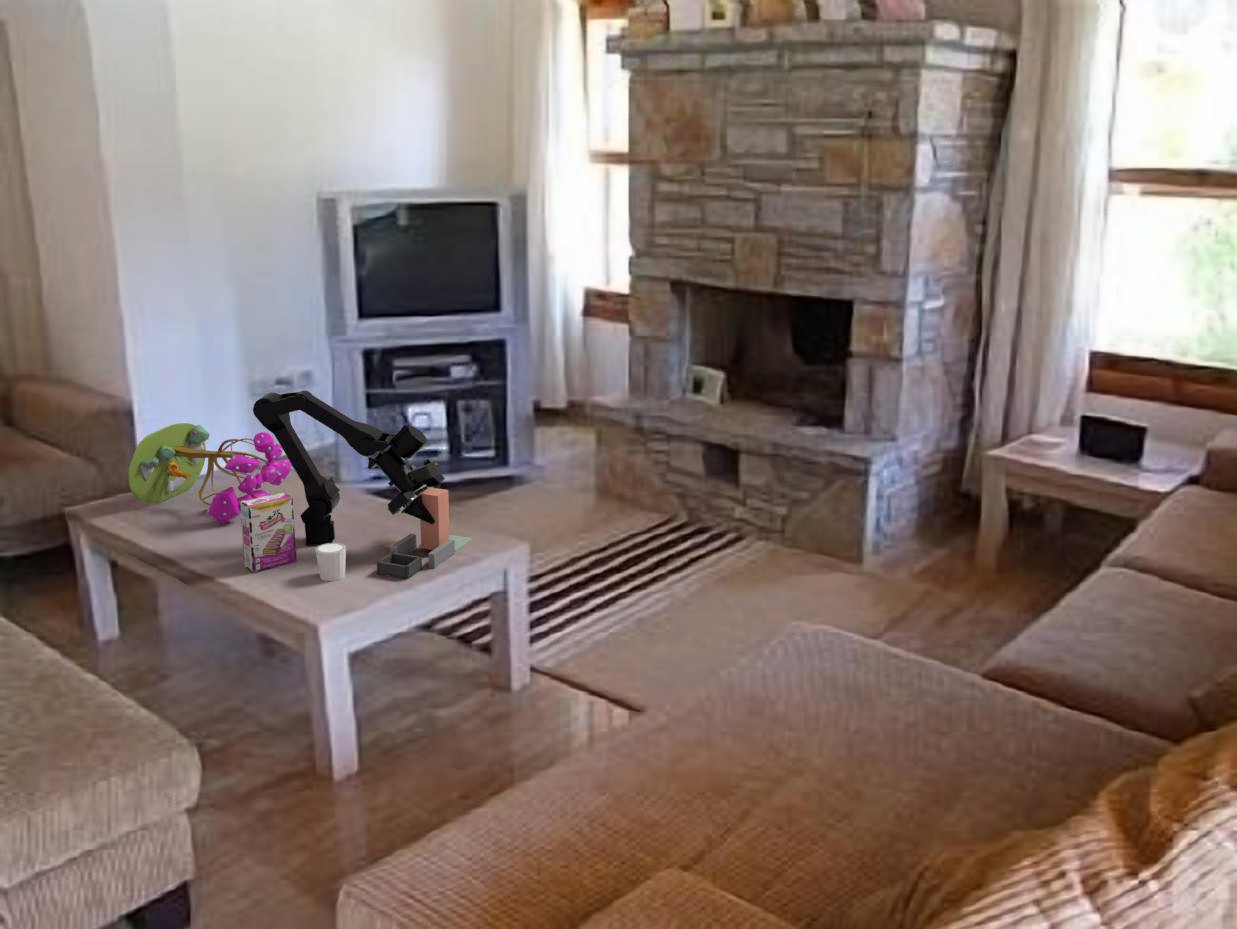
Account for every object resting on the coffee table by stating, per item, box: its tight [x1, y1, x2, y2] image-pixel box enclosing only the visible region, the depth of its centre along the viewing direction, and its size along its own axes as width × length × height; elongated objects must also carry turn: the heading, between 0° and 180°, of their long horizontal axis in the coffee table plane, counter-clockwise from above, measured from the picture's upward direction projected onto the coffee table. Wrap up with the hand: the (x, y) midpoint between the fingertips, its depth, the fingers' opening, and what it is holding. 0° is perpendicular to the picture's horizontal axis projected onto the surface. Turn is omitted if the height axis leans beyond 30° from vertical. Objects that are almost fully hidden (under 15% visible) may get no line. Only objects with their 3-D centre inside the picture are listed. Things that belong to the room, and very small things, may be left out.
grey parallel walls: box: [388, 533, 456, 569], centre depth 277 cm, size 12×10×4 cm
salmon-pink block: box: [419, 487, 450, 551], centre depth 280 cm, size 5×5×14 cm
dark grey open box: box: [376, 553, 423, 580], centre depth 269 cm, size 8×6×3 cm
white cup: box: [314, 542, 347, 582], centre depth 265 cm, size 7×7×7 cm
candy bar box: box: [240, 492, 297, 573], centre depth 270 cm, size 11×5×16 cm, turn 133°
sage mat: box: [419, 534, 474, 552], centre depth 287 cm, size 10×9×1 cm
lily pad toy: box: [127, 422, 294, 524], centre depth 308 cm, size 30×28×35 cm
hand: (439, 519), depth 280 cm, fingers closed on salmon-pink block, 5 cm apart
